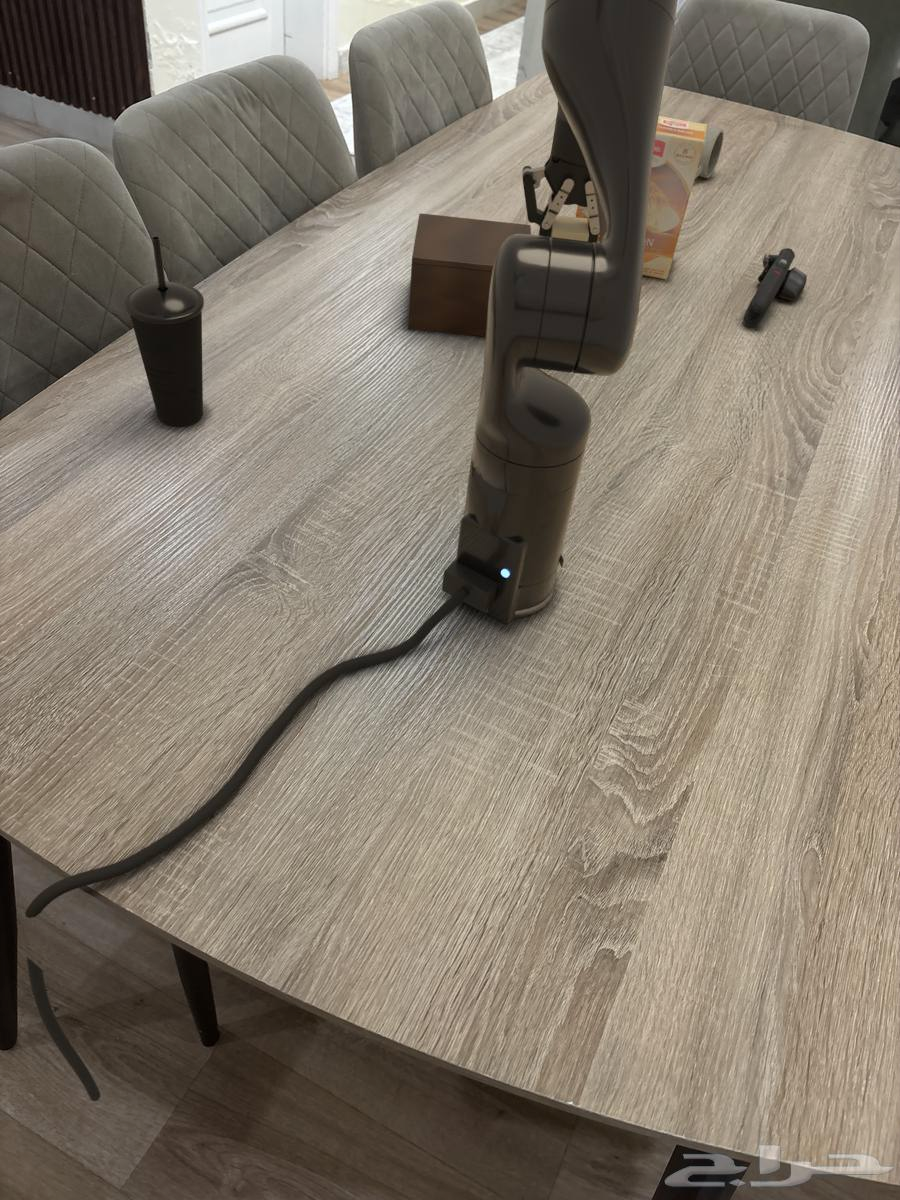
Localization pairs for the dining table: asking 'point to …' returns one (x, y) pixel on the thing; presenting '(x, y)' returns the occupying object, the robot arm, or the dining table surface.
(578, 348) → the robot arm
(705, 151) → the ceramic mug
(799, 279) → the can opener
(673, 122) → the coffeecake box
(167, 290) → the drinking cup
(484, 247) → the brown wooden box
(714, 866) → the dining table surface
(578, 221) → the block
